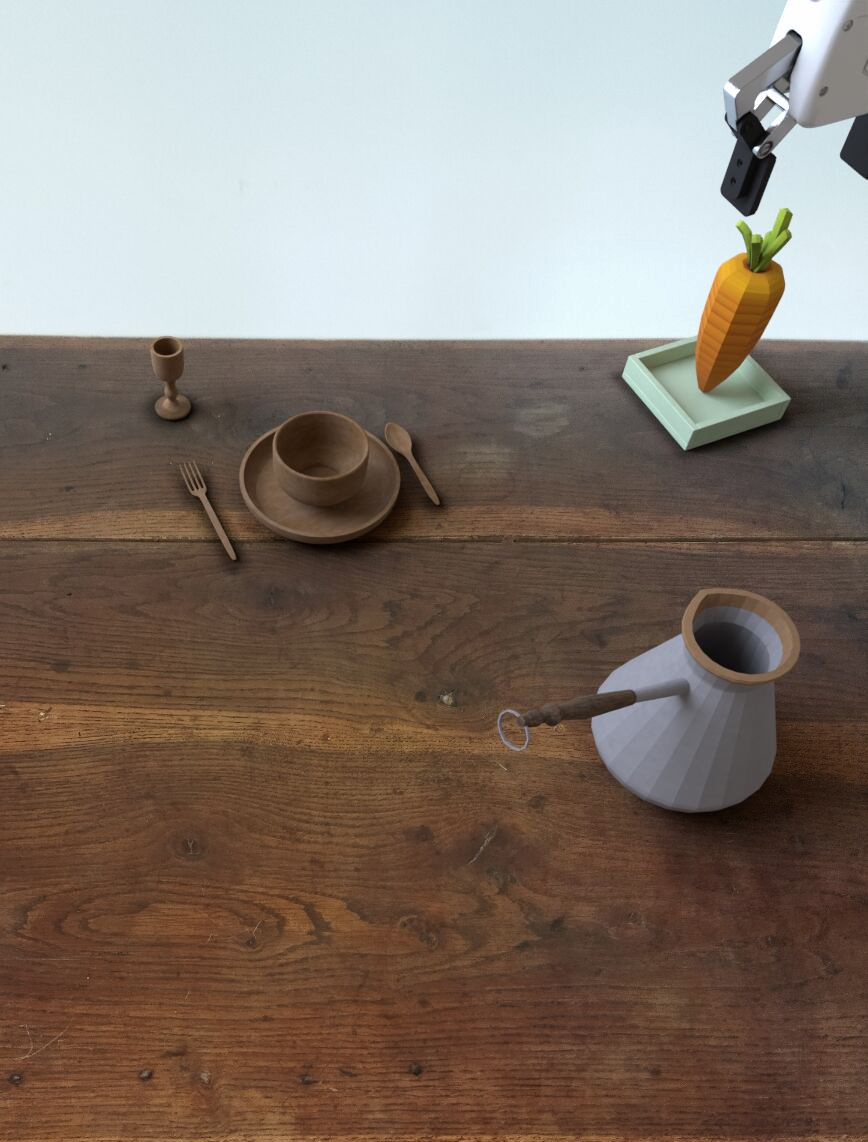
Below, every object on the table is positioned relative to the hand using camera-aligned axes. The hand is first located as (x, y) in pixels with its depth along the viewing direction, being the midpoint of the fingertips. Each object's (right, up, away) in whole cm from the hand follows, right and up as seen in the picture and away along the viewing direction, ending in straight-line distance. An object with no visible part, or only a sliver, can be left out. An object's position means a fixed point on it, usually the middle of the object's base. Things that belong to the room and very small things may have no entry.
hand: (797, 186), depth 72 cm
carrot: (-1, -9, +15) cm, 17 cm away
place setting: (-34, -15, +11) cm, 39 cm away
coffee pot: (-14, -40, -3) cm, 42 cm away
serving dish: (-1, -9, +15) cm, 18 cm away
